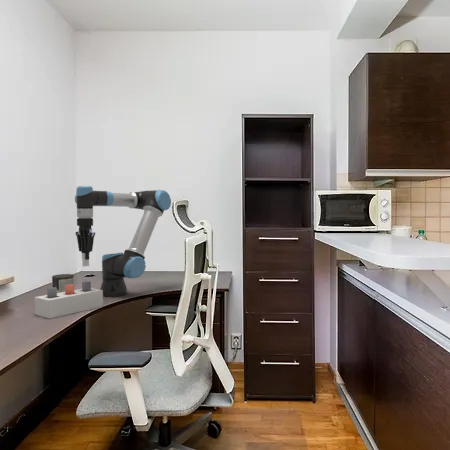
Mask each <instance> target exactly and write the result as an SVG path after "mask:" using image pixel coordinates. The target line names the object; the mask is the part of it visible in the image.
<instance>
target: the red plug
mask: <svg viewBox="0 0 450 450" xmlns="http://www.w3.org/2000/svg"><path fill="white" fill-rule="evenodd" d="M74 290H75V284H69V285H65V295H71V294H74Z"/></svg>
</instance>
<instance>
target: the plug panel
mask: <svg viewBox="0 0 450 450" xmlns="http://www.w3.org/2000/svg"><path fill="white" fill-rule="evenodd" d="M103 298H104V296H103V290H100V289H98V288H93V287H91V291H87V292H83V291H82V288H78V289H74V294H71V295H65V292H61V293H57V297H55V298H47V294H45V295H40V296H35V297H34V315H35V316H39V317H42V318H44V319H45V318H46V319H49V320H50V319H54V318H58V317H62V316H68V315H71V314H76V313H79V312H84V311H89V310H93V309H97V308H103V307H104V299H103Z"/></svg>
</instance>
